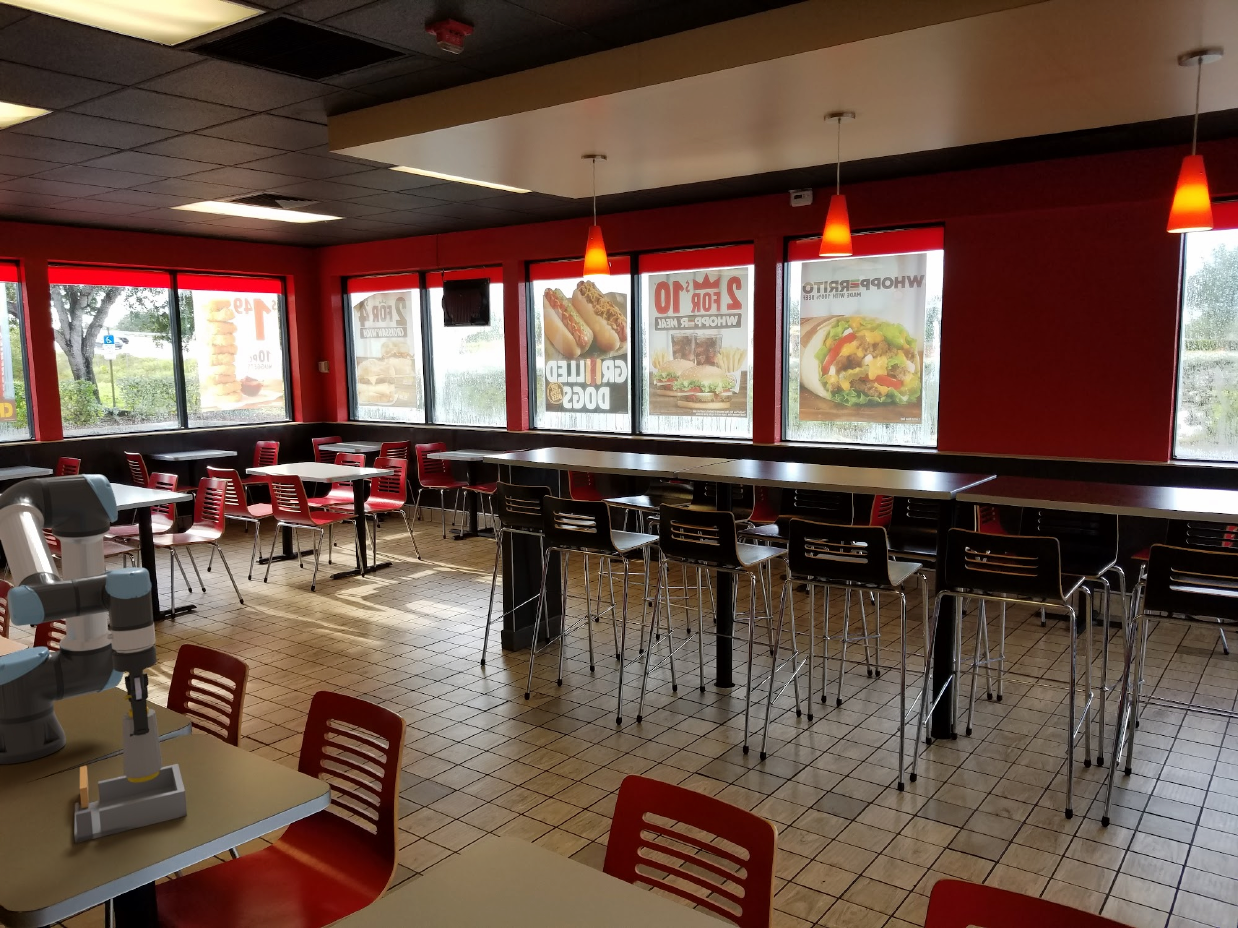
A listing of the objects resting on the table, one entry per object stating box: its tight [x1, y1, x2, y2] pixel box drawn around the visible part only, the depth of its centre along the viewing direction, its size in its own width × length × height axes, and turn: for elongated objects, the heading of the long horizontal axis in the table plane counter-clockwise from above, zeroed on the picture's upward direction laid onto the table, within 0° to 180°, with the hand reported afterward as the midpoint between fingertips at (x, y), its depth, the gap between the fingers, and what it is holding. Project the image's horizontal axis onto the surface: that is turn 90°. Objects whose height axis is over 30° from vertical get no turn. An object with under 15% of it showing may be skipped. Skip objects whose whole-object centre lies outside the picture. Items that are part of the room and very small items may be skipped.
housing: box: [73, 763, 188, 844], centre depth 174 cm, size 15×19×5 cm
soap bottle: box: [122, 694, 163, 783], centre depth 174 cm, size 7×7×18 cm
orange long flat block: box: [79, 765, 90, 808], centre depth 179 cm, size 12×1×4 cm, turn 31°
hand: (143, 763), depth 175 cm, fingers closed on soap bottle
